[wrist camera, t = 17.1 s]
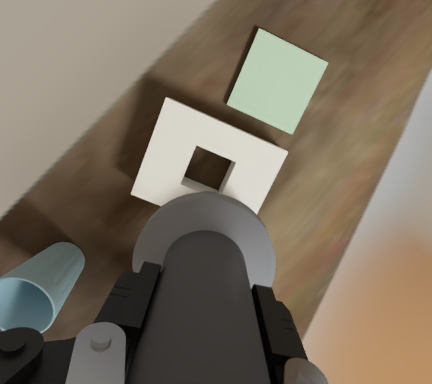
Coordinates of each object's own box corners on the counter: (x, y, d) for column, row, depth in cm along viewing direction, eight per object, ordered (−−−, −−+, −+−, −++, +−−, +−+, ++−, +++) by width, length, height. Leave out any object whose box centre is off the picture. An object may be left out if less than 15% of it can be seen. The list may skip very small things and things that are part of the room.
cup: (49, 224, 39) (-6, 266, 29) (101, 249, 40) (65, 296, 30) (31, 266, 41) (-27, 319, 31) (81, 288, 42) (40, 345, 32)
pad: (326, 63, 33) (328, 62, 33) (291, 134, 36) (292, 134, 35) (258, 29, 32) (259, 27, 32) (226, 104, 35) (226, 104, 34)
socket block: (280, 147, 36) (294, 155, 30) (241, 226, 39) (246, 248, 33) (171, 98, 34) (162, 96, 28) (138, 185, 37) (124, 200, 31)
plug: (273, 193, 19) (410, 387, 6) (231, 275, 21) (264, 564, 8) (178, 153, 18) (88, 274, 5) (143, 242, 20) (9, 503, 7)
